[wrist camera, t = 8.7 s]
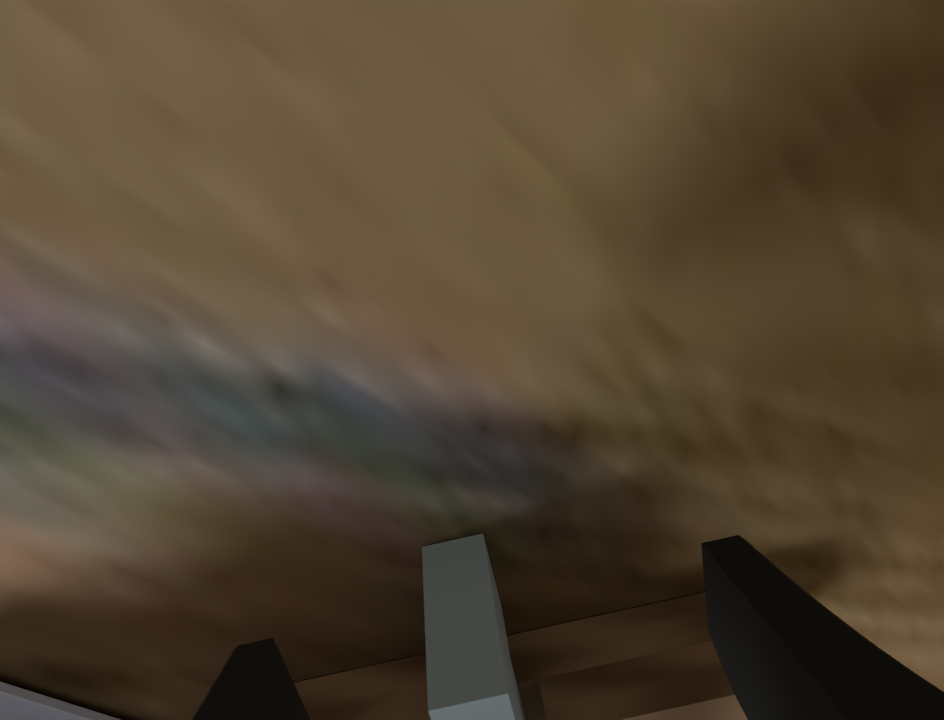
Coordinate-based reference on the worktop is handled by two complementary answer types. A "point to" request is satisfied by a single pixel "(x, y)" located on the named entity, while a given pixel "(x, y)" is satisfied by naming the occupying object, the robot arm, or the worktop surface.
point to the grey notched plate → (466, 635)
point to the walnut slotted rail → (567, 673)
